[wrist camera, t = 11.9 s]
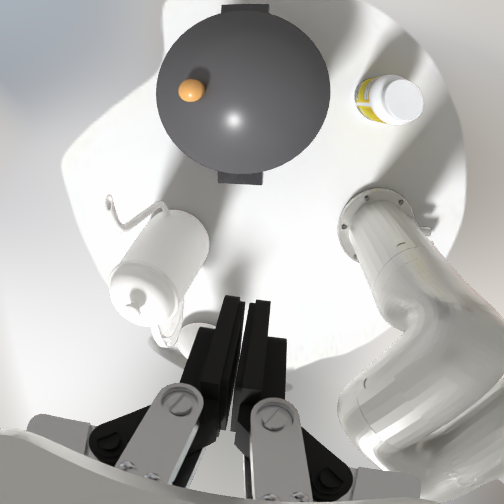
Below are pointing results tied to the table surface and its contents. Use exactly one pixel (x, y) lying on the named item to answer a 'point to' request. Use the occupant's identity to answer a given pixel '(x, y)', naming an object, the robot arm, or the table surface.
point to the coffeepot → (157, 268)
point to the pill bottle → (389, 99)
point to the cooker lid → (243, 92)
